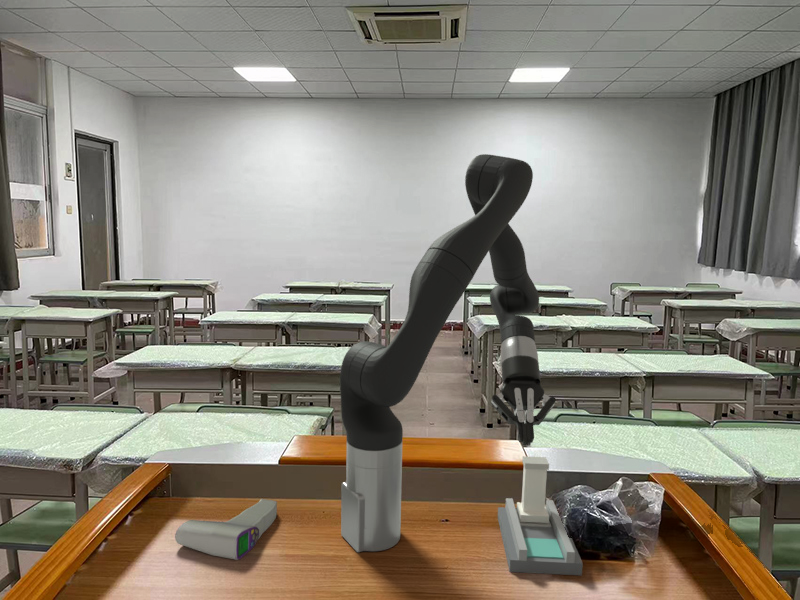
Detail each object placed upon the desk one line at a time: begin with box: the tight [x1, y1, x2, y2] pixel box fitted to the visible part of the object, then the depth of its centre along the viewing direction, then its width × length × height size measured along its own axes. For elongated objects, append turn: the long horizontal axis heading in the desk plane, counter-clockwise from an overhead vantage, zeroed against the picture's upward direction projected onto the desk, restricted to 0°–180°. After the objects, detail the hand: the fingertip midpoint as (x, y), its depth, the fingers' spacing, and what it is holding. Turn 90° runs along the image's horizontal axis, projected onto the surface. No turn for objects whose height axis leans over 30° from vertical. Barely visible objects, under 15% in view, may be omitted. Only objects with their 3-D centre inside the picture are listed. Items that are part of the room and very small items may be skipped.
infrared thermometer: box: [174, 498, 278, 561], centre depth 98 cm, size 5×12×15 cm
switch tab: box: [516, 455, 550, 523], centre depth 100 cm, size 4×5×10 cm
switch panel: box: [497, 497, 584, 576], centre depth 96 cm, size 16×11×4 cm
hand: (526, 443), depth 108 cm, fingers closed
